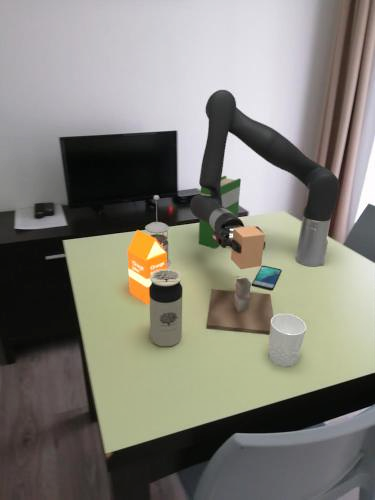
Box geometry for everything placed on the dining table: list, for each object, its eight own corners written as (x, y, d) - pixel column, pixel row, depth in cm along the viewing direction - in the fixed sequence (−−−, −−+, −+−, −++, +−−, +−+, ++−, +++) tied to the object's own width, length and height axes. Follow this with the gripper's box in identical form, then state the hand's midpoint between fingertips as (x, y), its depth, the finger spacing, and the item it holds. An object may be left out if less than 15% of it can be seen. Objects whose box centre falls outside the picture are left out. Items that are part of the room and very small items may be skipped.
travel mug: (152, 326, 97) (150, 267, 89) (182, 327, 96) (183, 268, 89) (148, 346, 89) (146, 284, 82) (180, 348, 89) (181, 285, 81)
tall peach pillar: (250, 256, 100) (253, 225, 96) (261, 266, 95) (264, 234, 91) (230, 258, 98) (233, 228, 94) (240, 269, 93) (243, 237, 89)
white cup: (262, 346, 90) (266, 313, 86) (292, 345, 91) (298, 312, 87) (271, 369, 83) (276, 335, 79) (304, 368, 84) (311, 334, 80)
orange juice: (149, 283, 116) (147, 226, 107) (167, 295, 111) (167, 235, 102) (129, 292, 111) (125, 233, 102) (147, 305, 106) (145, 242, 97)
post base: (269, 297, 111) (274, 268, 106) (275, 335, 94) (280, 302, 90) (211, 292, 112) (212, 263, 108) (206, 328, 96) (208, 296, 92)
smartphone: (250, 284, 116) (262, 264, 129) (250, 286, 117) (261, 266, 129) (272, 290, 114) (282, 269, 126) (272, 292, 114) (282, 271, 126)
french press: (138, 266, 126) (135, 197, 115) (153, 252, 136) (152, 188, 125) (164, 272, 123) (163, 201, 112) (177, 257, 133) (178, 191, 122)
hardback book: (220, 230, 157) (224, 175, 147) (236, 234, 153) (240, 178, 143) (198, 244, 144) (200, 185, 133) (214, 249, 140) (218, 188, 130)
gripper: (203, 214, 103) (226, 238, 88) (249, 210, 107) (278, 231, 92) (202, 238, 106) (224, 265, 92) (246, 233, 110) (275, 257, 96)
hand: (251, 248), depth 92 cm, fingers closed on tall peach pillar, 6 cm apart
